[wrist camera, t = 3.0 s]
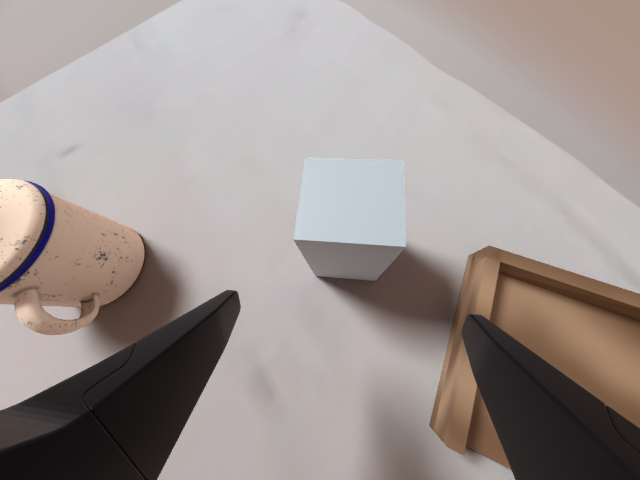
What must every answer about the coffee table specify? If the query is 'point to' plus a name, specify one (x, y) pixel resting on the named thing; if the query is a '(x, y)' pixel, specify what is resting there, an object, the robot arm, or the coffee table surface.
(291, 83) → the coffee table surface
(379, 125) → the coffee table surface
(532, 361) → the robot arm
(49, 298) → the teacup with lid
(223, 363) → the coffee table surface
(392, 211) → the tall block
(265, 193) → the coffee table surface
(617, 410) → the tray
